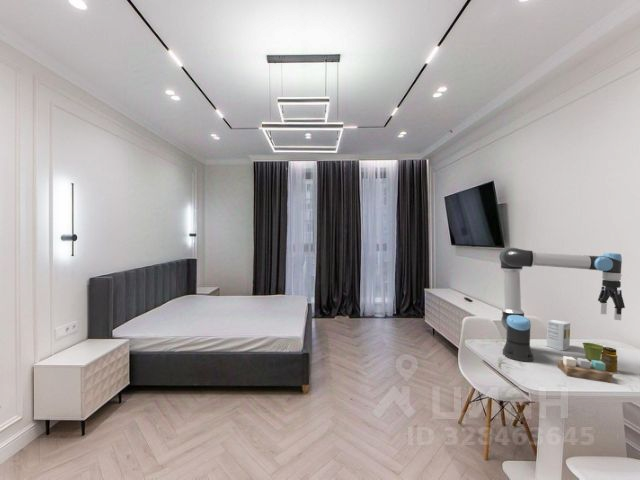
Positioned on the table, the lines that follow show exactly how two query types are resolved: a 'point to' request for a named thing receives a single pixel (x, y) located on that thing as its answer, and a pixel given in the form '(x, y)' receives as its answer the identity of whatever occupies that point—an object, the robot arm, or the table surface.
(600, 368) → the teal cube
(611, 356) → the condiment
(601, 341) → the table surface
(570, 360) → the cream white cube
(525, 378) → the table surface
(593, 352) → the plant pot
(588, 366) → the grey cube
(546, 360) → the table surface
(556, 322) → the supplement box
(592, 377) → the wooden tray
